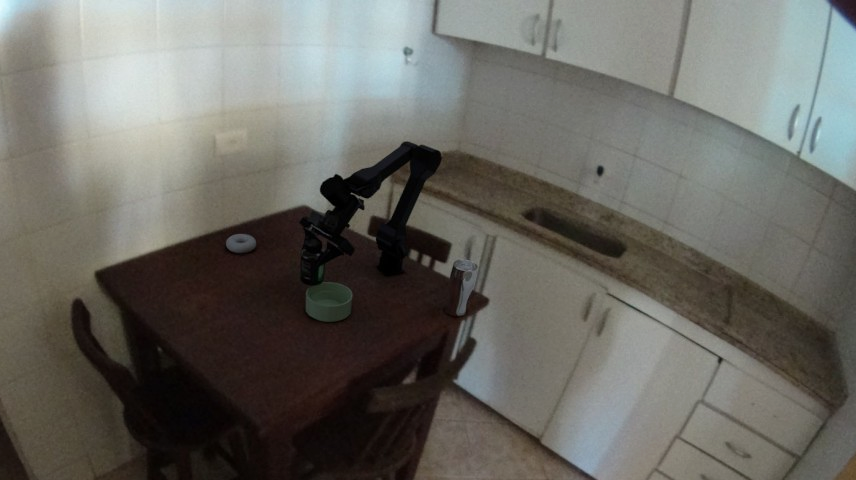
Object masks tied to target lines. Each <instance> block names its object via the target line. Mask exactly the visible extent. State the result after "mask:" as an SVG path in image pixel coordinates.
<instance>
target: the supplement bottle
mask: <svg viewBox="0 0 856 480" xmlns="http://www.w3.org/2000/svg"><path fill="white" fill-rule="evenodd" d="M319 239H320V238H318V239H314V238H312V239H308V240H306V241H305V246H304V250H303V251H302V252H301V251H300V253H301V256H300V266H299V267H300V270H299V271H300V273H299V279H300V282H301V283H302V284H304V285H306V286H309V287H310V286H317V285H320V284H322V283H323V282H325V274H326V273H325V272H326V263H325V264H323V265H322V266H320V267H317V266H316V264H317V262H318V260H319V259H320V257H321V256H322V254H323V253H324V251H325V250H324V249H323V241H322V240H321V239H320V240H319Z"/></svg>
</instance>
